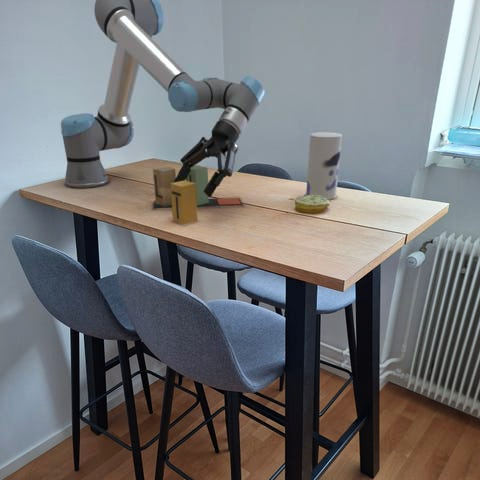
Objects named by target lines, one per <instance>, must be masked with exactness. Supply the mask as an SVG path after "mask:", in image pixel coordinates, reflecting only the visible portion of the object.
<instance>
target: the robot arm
mask: <svg viewBox="0 0 480 480" xmlns="http://www.w3.org/2000/svg"><path fill="white" fill-rule="evenodd" d="M93 8H94V9H93V10H94V17H95V20H96V23H97V26H98V27H99V28H100V30H101V31H102V33H103V34H104V35H105V36H106V37H107V38H108V39H109V40H110V41H111V42H113V43H116V44H115V50H114V55H113V58H112V59H113V60H112V64H111V68H110V74H109V78H108V83H107V89H106V94H105V99H104V103H103V104H101V105H99V106H98V110H97V115H96V116H94V114H92V113H87V112H86V113H75V114H72V115H68V116H66V117H64V118H63V119H62V120H61V122H60V130H61V132H60V133H61V136H62V140H63V146H64V152H65V158H66V163H67V165H66V169H65V177H64V180H65V181H64V182H65V185H66V187H69V188H72V189H73V188H74V189H75V188H76V189H90V188H96V187H101V186H105V185H107V184H108V183H109V176H108V174H107V172H106V170H105V168H104V165H103V164H102V161H101V157H100V156H101V155H100V152H102V151H109V150H113V149H121V148H123V147H127V146H128V145H129V144H130V143H131V142H132V141H133V139H134V133H135V128H134V124H133V121H132V118H131V115H130V113H129V110H130V106H131V102H132V97H133V94H134V89H135V87H136V82H137V77H138V74H139V70H140V66H141V67H142V69H143V70H145V71H146V72H147V74H149V75H150V77H152V78H153V79H154V80H155V81H156V83H158V85H159V86H161V87H162V88H163V90H164V91H166V92H167V99H168V102H169V104H170V107H171V108H172V109H173V110H175V111H176V112H179V113H183V112H184V113H192V112H196V111H202V110H211V109H223V111H222V113H221V114H220V117H219V118H218V120H217V121H216V123H215V124H214V126H213V127H212V129H211V137H209V139H207V138H206V137H205V136H202V137H201V138H200V140H199V141H198V142H197V143H196V144H195V145H194V146H193V147H192V148H191V149H189V150H188V152H187V153H186V154H184V155H183V156H182V157H181V158H180V160H179V162H181V163H182V165H181V168H180V169H179V171H178V173H177V174H176V179H175V180H174V182H173V183H175V182H179V181H184V180H185V181H186V178H187V177H188V175H189V173H190V172H191V167H193V166H197V164H199V163H201V162H202V161H204V160H205V159H206V158H208V159H209V158H214V157H215V158H216V159H217V169H216V171H215V172H214V173H213V174H212V176H211V178H210V180H208V184H207V186H206V188H205V189H204V191H203V192H204V193H205V194H206V195H207V196H208V197H209V198H212V196H213V195H214V193H215V191H216V189H217V188H219V186H220V184H221V183H222V181H223V180H224V178H226V177H229V178H231V177H232V176H233V172H234V166H235V160H236V155H237V153H238V151H239V147H238V146H237V144H236V143H237V141H238V139H239V138H240V136H241V135H242V133H243V132H244V130H245V128H246V127H247V125H248V123H249V121H250V119H251V117H252V116H253V115H254V113H255V112H256V110H257V109H258V107H259V106H260V104H261V101H262V100H263V98H264V95H265V88H264V86H263V84H262V83H261V82H260V81H259V80H258V79H257V78H255V77H253V76H249V75H248V76H245V77H243V79H242V80H240V82H239V83H237V82H232V81H228V80H224V79H219V78H218V77H211V76H206V77H204V78H203V79H202V80H195V79H193V78H192V77H191V76H190V75H189V74H188V73H187V71H185V70H184V69H183V68H182V67H181V66H180V65H179V64H178V63H177V62H176V61H175V60H174V59H173V58H172V57H171V56H170V55H169V54H168V53H167V52H166V51H165V50H164V49H163V48H162V47H161V46H160V45H159V44H158V43H157V42H156V41H155V40H154V39H153V36H156V35H158V34H160V33H161V31H162V29H163V27H164V11H163V9H162V4H161V3H160V1H159V0H95V3H94V7H93Z"/></svg>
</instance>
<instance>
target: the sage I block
mask: <svg viewBox="0 0 480 480" xmlns="http://www.w3.org/2000/svg"><path fill="white" fill-rule="evenodd" d="M185 181H188V182H192V183H195V184H196V204H197V206H198V205H202V204H206V203H209V199H210V197H208V196H207V195H206V194H205V193H204V192H203V191H204V189H205V188H206V186H207V184H208V183H209V168H208V167H206V166H202V165H197V164H196V165H194V166H193V167H191V172H190V173H189V175H188V177H187V178H186V180H185Z"/></svg>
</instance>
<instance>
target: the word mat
mask: <svg viewBox="0 0 480 480" xmlns="http://www.w3.org/2000/svg"><path fill="white" fill-rule="evenodd" d="M153 201H154V202H153V209H154V210H155V209H157V210H158V209H172V205H171V206H167V207H164V206H161V205H158V204H156V200H155V199H154V200H153ZM237 206H243V203H242V201H241V198H240V197H217V198H213V197H212V198H209V203H206V204H202V205H198V206H197V208H209V207H237Z"/></svg>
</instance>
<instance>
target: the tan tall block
mask: <svg viewBox="0 0 480 480" xmlns="http://www.w3.org/2000/svg"><path fill="white" fill-rule="evenodd" d="M152 176H153V189H154V198H155V199H154V201H155V200H156V204H158V205H161V206H164V207H167V206H171V205H172V198H171V184H170V183H173V182H174V180H175V179H176V177H177V173H176V168H175V167H174V168H173V167H171V166H167V165H166V166H165V165H164V166H159V167H154V168H152Z"/></svg>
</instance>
